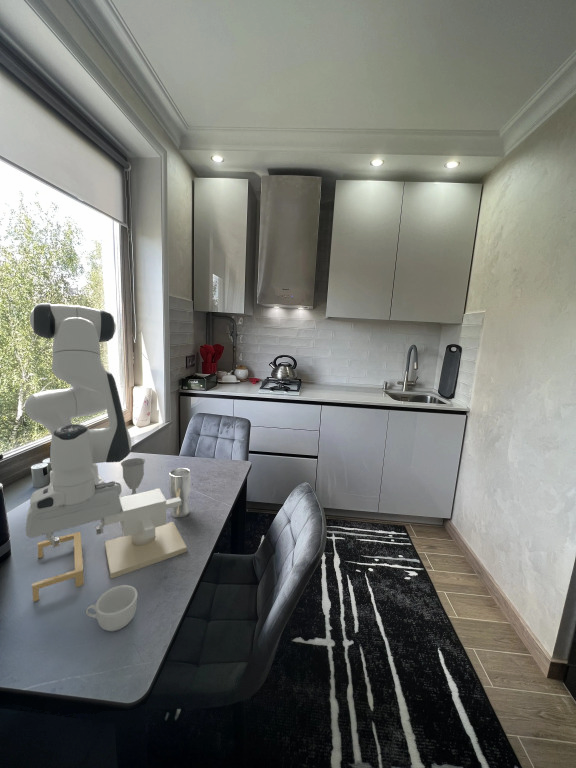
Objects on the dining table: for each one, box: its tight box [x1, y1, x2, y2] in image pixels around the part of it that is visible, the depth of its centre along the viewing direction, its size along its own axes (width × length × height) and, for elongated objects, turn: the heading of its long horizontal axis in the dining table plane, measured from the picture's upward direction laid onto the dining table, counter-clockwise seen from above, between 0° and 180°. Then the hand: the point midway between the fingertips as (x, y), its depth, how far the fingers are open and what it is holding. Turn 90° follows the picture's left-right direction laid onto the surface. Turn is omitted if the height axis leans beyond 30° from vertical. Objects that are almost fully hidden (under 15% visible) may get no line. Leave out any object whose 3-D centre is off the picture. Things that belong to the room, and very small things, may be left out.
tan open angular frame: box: [31, 531, 85, 602], centre depth 80 cm, size 10×17×4 cm, turn 35°
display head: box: [104, 488, 188, 579], centre depth 88 cm, size 14×20×14 cm
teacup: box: [85, 584, 138, 632], centre depth 67 cm, size 10×8×5 cm
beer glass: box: [168, 467, 192, 519], centre depth 106 cm, size 7×7×15 cm
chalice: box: [120, 457, 146, 495], centre depth 105 cm, size 7×7×18 cm
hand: (78, 539), depth 81 cm, fingers open, 8 cm apart
